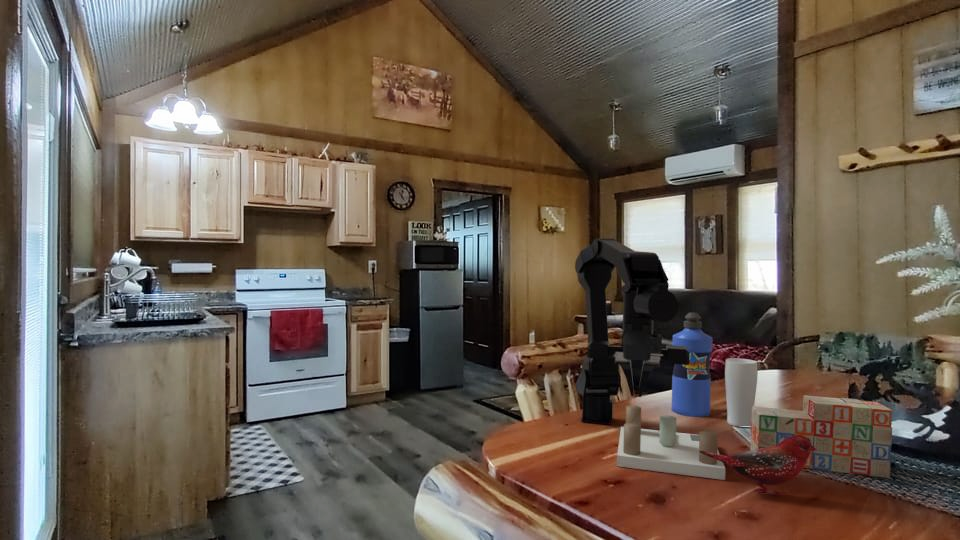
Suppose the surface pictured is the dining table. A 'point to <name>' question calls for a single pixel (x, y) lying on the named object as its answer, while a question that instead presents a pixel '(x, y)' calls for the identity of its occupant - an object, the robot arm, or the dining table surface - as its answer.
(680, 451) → the stool seat
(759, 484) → the decorative bird figurine
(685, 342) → the water bottle
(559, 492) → the dining table surface
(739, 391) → the drinking glass
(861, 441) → the stack of blocks
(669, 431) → the hinged leg
